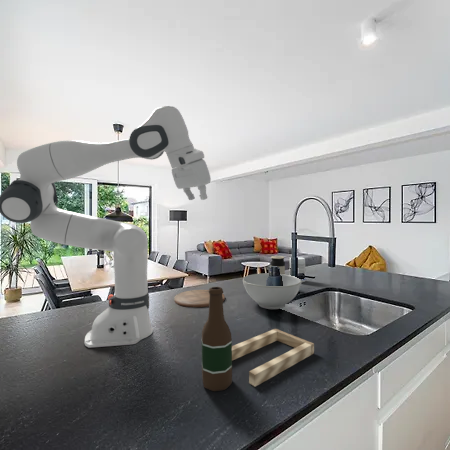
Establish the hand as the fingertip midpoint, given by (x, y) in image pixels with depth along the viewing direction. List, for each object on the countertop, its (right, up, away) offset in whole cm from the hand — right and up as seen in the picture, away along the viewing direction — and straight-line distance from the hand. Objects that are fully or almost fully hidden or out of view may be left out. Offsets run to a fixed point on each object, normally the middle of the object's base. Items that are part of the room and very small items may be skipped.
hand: (198, 199), depth 94 cm
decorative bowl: (+31, -46, +38) cm, 67 cm away
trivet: (-4, -46, +48) cm, 67 cm away
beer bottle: (+7, -48, -23) cm, 54 cm away
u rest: (+21, -48, -11) cm, 53 cm away
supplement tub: (+55, -44, +84) cm, 109 cm away
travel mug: (+39, -45, +68) cm, 90 cm away
